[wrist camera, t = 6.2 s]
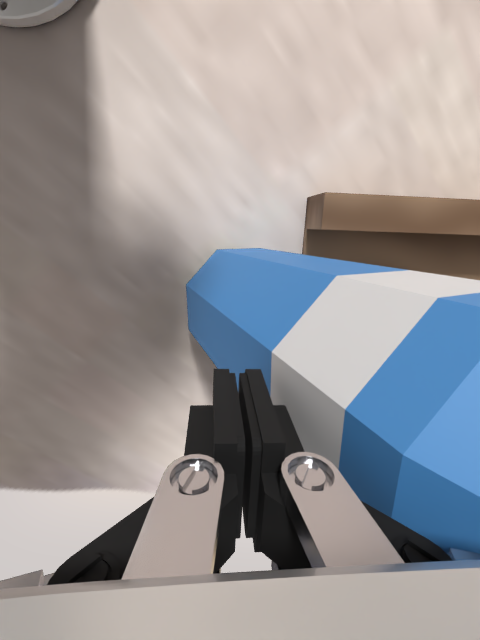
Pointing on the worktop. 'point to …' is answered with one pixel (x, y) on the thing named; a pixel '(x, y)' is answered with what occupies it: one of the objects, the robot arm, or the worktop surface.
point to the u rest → (396, 232)
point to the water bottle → (361, 373)
